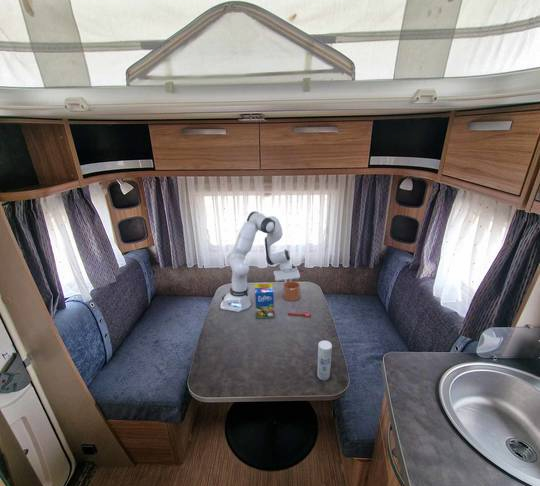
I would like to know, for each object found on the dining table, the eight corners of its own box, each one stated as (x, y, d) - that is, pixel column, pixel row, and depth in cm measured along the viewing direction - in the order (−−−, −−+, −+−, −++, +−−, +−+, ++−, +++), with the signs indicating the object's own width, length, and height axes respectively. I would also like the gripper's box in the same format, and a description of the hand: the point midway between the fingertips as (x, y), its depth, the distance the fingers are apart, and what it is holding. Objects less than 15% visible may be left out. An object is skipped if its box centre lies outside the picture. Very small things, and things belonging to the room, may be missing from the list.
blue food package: (256, 313, 198) (254, 282, 188) (274, 312, 198) (272, 281, 188) (256, 318, 192) (254, 286, 182) (274, 318, 193) (273, 285, 182)
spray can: (328, 370, 148) (330, 340, 140) (331, 380, 142) (333, 349, 134) (316, 370, 148) (317, 340, 140) (318, 380, 142) (319, 349, 134)
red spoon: (287, 316, 194) (287, 314, 193) (288, 312, 198) (288, 311, 197) (310, 317, 192) (310, 315, 191) (310, 314, 195) (310, 312, 195)
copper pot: (283, 300, 213) (282, 288, 208) (284, 292, 224) (284, 281, 219) (299, 301, 211) (299, 289, 207) (300, 292, 222) (300, 281, 218)
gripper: (273, 269, 222) (276, 285, 218) (298, 266, 226) (302, 282, 221) (272, 271, 228) (275, 288, 223) (296, 268, 232) (300, 284, 227)
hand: (288, 285), depth 222 cm, fingers closed
